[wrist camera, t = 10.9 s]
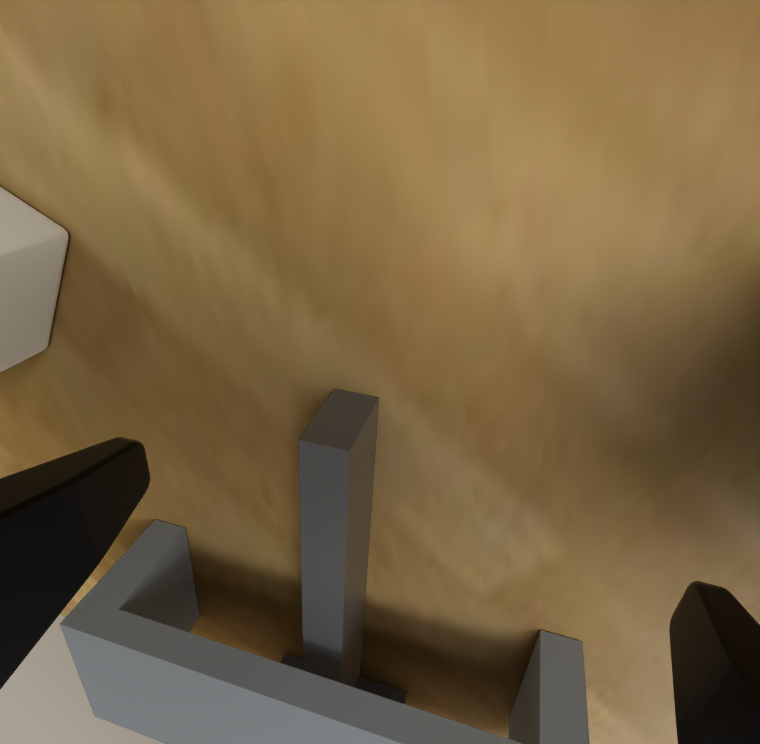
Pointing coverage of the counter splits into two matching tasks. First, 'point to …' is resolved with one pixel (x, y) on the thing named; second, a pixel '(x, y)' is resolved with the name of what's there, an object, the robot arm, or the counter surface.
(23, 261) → the medicine bottle
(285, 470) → the counter surface
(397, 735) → the grey step stool
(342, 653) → the grey t-shaped bar
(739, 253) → the counter surface
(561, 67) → the counter surface
